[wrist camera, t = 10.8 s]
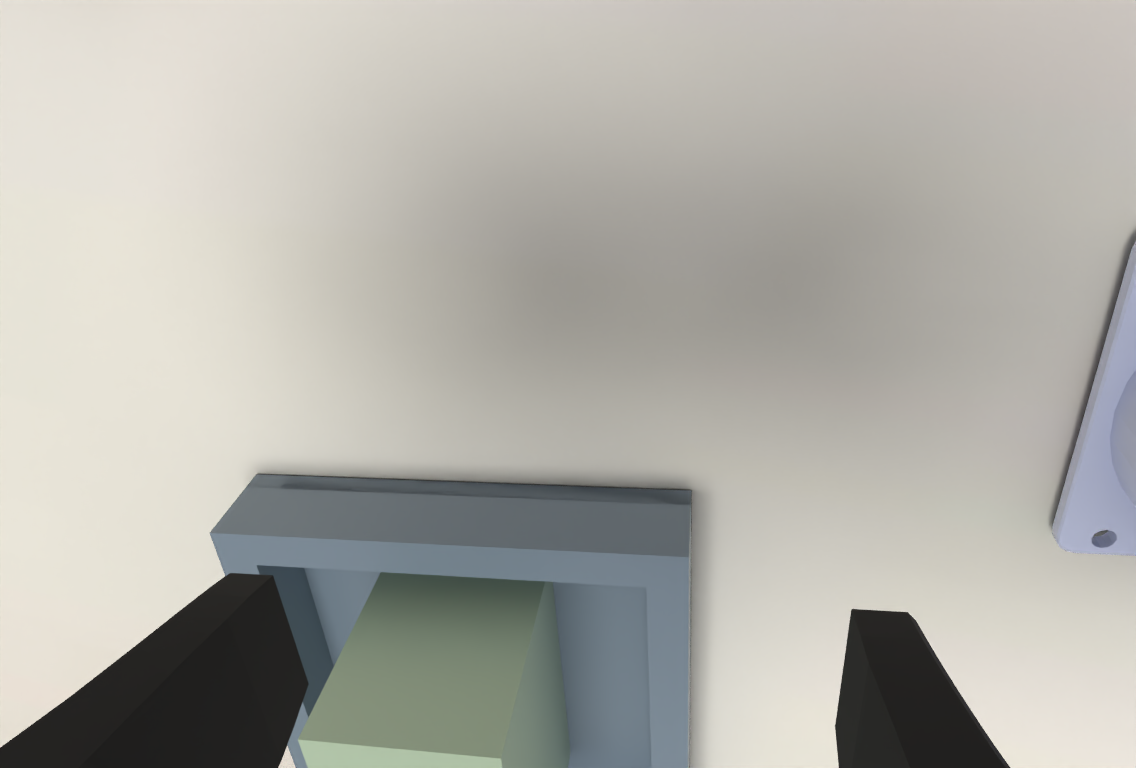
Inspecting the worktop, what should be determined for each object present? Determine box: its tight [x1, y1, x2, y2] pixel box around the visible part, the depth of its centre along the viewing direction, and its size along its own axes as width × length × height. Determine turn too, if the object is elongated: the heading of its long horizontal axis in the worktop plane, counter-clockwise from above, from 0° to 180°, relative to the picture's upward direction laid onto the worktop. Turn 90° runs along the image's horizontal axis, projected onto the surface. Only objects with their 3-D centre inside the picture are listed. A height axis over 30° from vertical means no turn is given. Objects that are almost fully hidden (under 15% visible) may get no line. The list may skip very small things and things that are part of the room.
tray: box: [210, 474, 692, 768], centre depth 24 cm, size 12×13×2 cm
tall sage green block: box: [298, 572, 570, 768], centre depth 22 cm, size 4×8×6 cm, turn 4°
